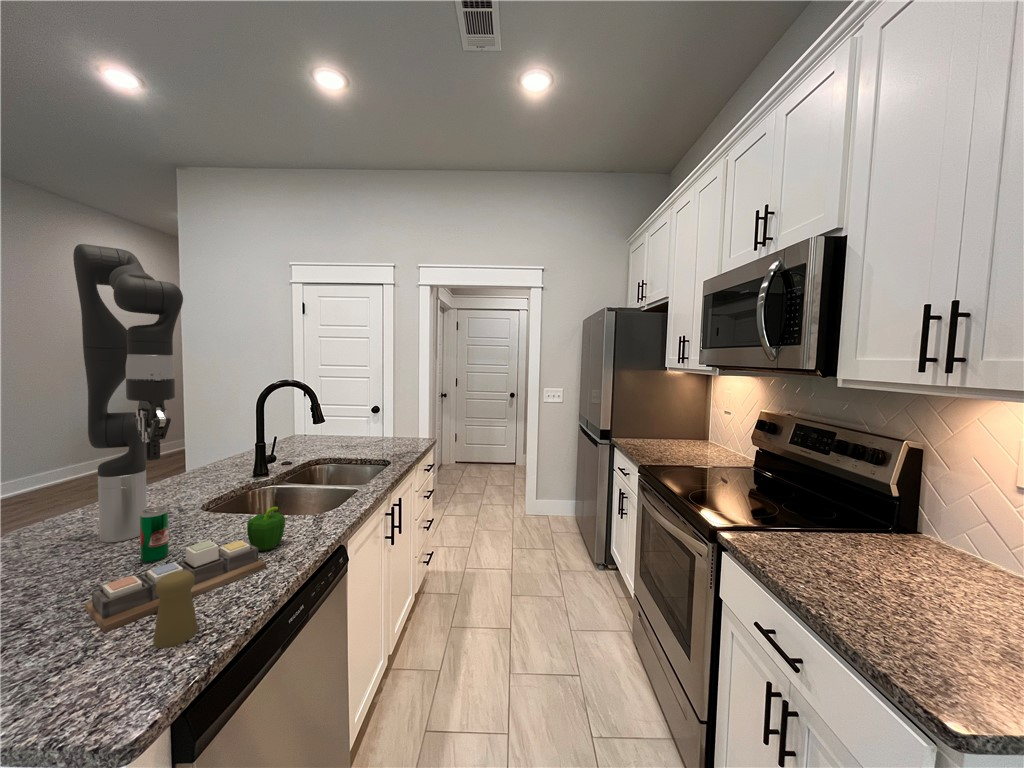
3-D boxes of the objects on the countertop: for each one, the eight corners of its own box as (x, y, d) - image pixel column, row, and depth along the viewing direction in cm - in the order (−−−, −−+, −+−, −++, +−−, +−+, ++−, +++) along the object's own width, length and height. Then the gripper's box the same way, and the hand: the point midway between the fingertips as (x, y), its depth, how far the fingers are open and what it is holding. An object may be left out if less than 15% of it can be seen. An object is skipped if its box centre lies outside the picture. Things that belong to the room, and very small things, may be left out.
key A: (185, 561, 86) (185, 546, 86) (209, 553, 90) (209, 539, 90) (194, 567, 84) (194, 552, 84) (218, 559, 88) (218, 544, 87)
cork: (170, 625, 72) (170, 565, 72) (206, 624, 73) (205, 565, 72) (143, 648, 66) (141, 584, 66) (181, 647, 67) (180, 583, 66)
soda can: (151, 564, 93) (151, 514, 92) (134, 562, 94) (133, 512, 93) (174, 554, 98) (173, 506, 97) (157, 552, 99) (156, 504, 98)
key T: (147, 585, 81) (147, 569, 81) (174, 575, 85) (174, 560, 84) (155, 592, 79) (155, 576, 78) (183, 582, 82) (182, 566, 82)
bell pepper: (244, 557, 98) (244, 517, 97) (249, 543, 105) (248, 506, 104) (284, 550, 101) (284, 512, 101) (285, 537, 109) (285, 501, 108)
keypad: (84, 609, 76) (84, 587, 76) (241, 553, 99) (240, 537, 99) (104, 632, 70) (103, 609, 70) (266, 568, 93) (266, 550, 93)
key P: (219, 560, 92) (219, 546, 92) (240, 552, 96) (240, 539, 95) (228, 565, 89) (228, 551, 89) (250, 557, 93) (250, 544, 93)
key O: (103, 600, 75) (102, 583, 75) (134, 590, 79) (133, 573, 79) (110, 608, 73) (110, 591, 73) (142, 597, 77) (141, 580, 77)
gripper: (115, 375, 83) (117, 458, 84) (138, 378, 76) (140, 468, 77) (161, 375, 89) (162, 451, 90) (186, 377, 82) (187, 460, 83)
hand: (152, 459), depth 84 cm, fingers closed
